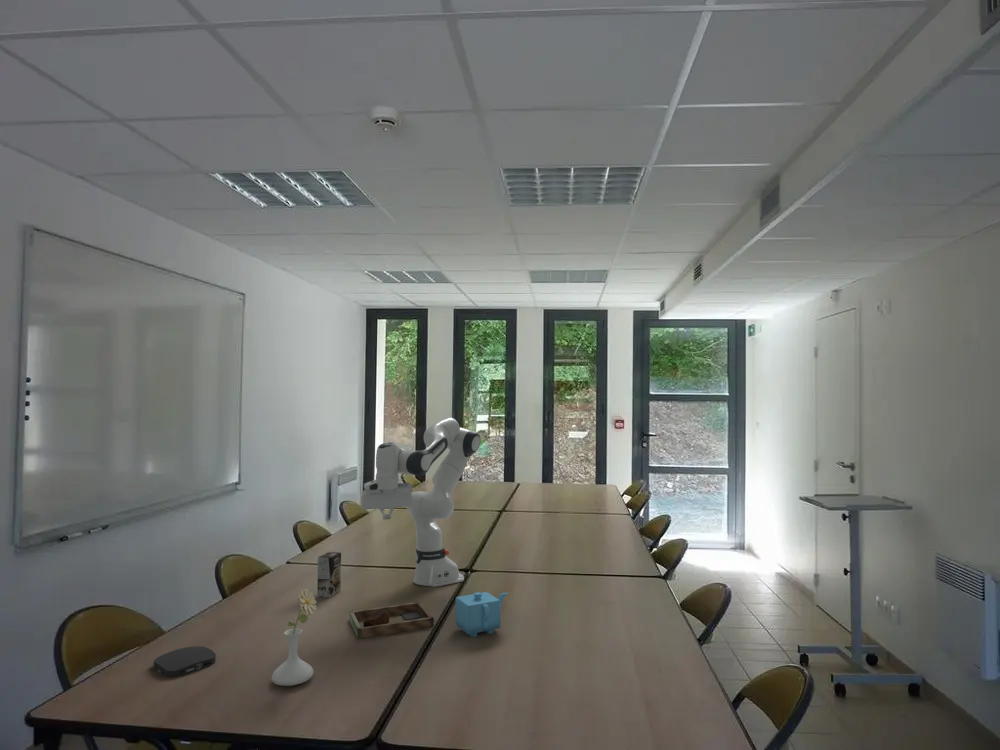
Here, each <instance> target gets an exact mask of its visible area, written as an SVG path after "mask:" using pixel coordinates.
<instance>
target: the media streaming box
mask: <svg viewBox="0 0 1000 750" xmlns="http://www.w3.org/2000/svg"><path fill="white" fill-rule="evenodd" d="M212 664H213V665H214V664H216V652H214V651H213V649H210V647H207V646H204V645H203V646H199V645H198V646H197V645H196V646H187V647H182V648H177V649H175V650H170V651H168V652H166V653H164V654H161V655H159V656H158V657H156V658H154V660H153V669H154V670H155V671H156V672H158V674H160V675H162V676H163V677H165V678H178V677H182V676H185V675H188V674H190V673H194V672H196V671H200V670H202V668H203V669H205V667H206V668H208V667H211V666H213V665H212ZM210 665H211V666H210Z"/></svg>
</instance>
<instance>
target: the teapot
mask: <svg viewBox="0 0 1000 750" xmlns="http://www.w3.org/2000/svg"><path fill="white" fill-rule="evenodd" d="M508 593H509V592H502V593H500V594H499V596H498V597H495V596H494V595H492V594H491V593H489V592H487V591H485V592H474V593H472V594H467V595H466V594H465V595H459V596H456V597H455V625H456V626H457V627H459V629H461V630H462V631H463V632H464V633H466V635H468V636H469V637H470V638H477V637H478V633H485V632H486V633H485V634H487V635H492V634H494V633H495V632H494V630H498V629H501V609H502V605H503V600H504V598H505V596H507V595H508Z"/></svg>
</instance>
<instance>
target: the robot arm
mask: <svg viewBox="0 0 1000 750" xmlns="http://www.w3.org/2000/svg"><path fill="white" fill-rule="evenodd" d="M423 443H424V445H425V446H426V448H425V449H423V450H422V449H421V450H410V449H403V448H401V447H399V446H398V445H397V443H396V442H391V441H389V442H384V443H381V444H379V445H378V447H377V450H376V452H375V453H376V455H375V467H376V474H375V479H374V480H371V481H367V482H366V483H365V482H364V483H363V489H364V490H363V491H362V493H361V497H360V508H361V509H362V510H377V509H379V511H380V513H381V515H382V520H383V521H384V520H385V521H386V520H391V519H392V515H393V512H394V511H395V508H403V507H405V508H406V510H407V511H408V512H409V514H410V515H411V517H412V520H413V523H414V526H415V532H416V533H415V534H416V549H415V562H416V564H415V571H414V576H413V580H412V582H413V583H414V584H416V585H419V586H426V587H427V586H428V587H432V588H436V587H441V586H445V585H451V584H456V583H460V582H464V581H465V577H464V574H462V573H461V572H460V571H459V567H458V565H457V564H456V562H454V560H452V559H450V558H449V557H448V555H449V554H450V551H449V550H448V549H445V548H444V547H443V546H442V545H443V541H442V539H443V533H442V529H441V528H440V527H439V525H438V524H437V522H436V520H443V519H444V520H445V519H448V518H450V517H451V516H452V515H453V512H454V510H455V504H454V500H453V498H452V497H453V493H454V489H455V487H456V486H457V484H458V482H459V481H460V478H461V477H462V475H463V474H464V472H465V469H466V467H467V464H468V460H469V457H471V456H472V455H474V454H475V453H476V452H477V450H479V447H480V445H481V437H480V434H479V433H477V432H476V431H474V430H470V429H467V428H463V427H460V424H459V422H458V421H457V420H456V419H455V418H454V417H445V418H442V419H439V420H438V421H437V422H435V423H433V424H432V425H430V426H429V427H428V428H427V429H426V430H425V431H424V433H423ZM446 449H448V450H449V452H448V454H447V455H446V456H445V457H444V458H443V460H442V461H441V463H440V464H439V466H438V467H437V468H436V471H435V472H434V474H433V476H432V480H431V481H432V484H433V485H434V486H433V489H432V490H431V491H430V492H428V491H425V490H424V491H423V490H419V491H413V489H414V488H413V485H412V484H411V483H409V482H399V474H403V475H412V476H416V477H422V476H424V475H426V474H427V472H428V471H429V470H430V468H431V467H432V465H433V464H434V463H435V462H436V460H438V459H439V457H440V456H441V455H442V454H443V453H444V452H445V451H446ZM385 509H389V512H388V513H387V514H386V513H385Z"/></svg>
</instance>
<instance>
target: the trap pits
mask: <svg viewBox="0 0 1000 750" xmlns="http://www.w3.org/2000/svg"><path fill="white" fill-rule="evenodd" d="M400 615H401V617H402V618H403V619H404V621H408V620H415V619H421V618H422V616H421V615H420V614H419V613H418V611H416V612H409V613H402V614H400Z"/></svg>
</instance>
